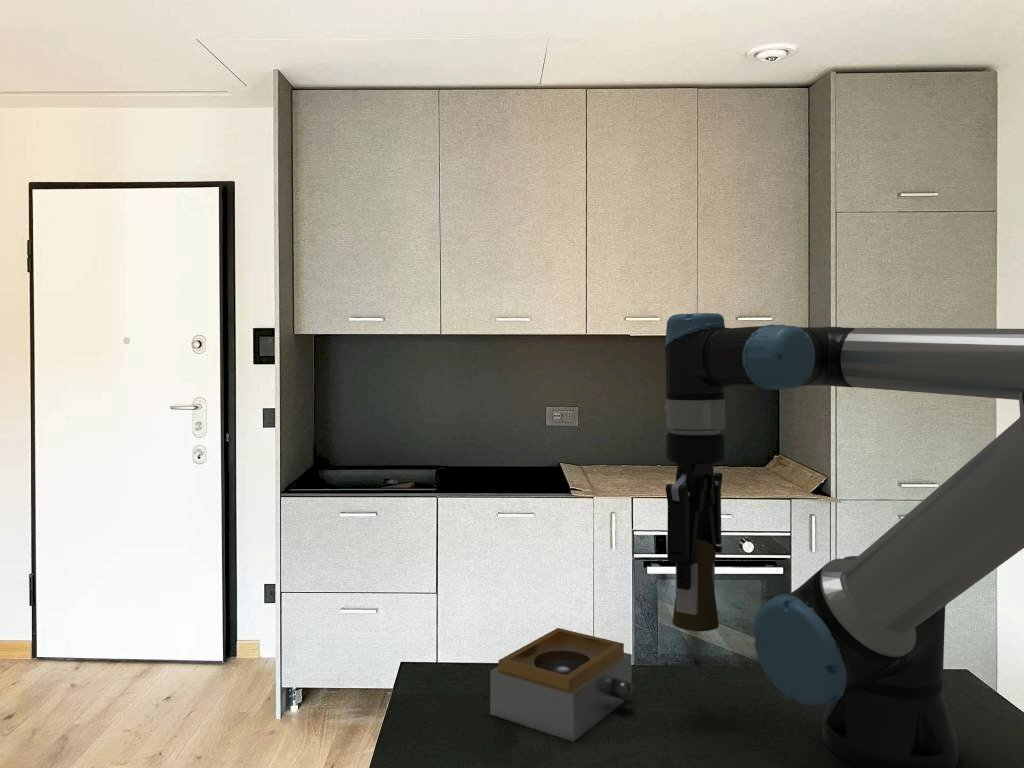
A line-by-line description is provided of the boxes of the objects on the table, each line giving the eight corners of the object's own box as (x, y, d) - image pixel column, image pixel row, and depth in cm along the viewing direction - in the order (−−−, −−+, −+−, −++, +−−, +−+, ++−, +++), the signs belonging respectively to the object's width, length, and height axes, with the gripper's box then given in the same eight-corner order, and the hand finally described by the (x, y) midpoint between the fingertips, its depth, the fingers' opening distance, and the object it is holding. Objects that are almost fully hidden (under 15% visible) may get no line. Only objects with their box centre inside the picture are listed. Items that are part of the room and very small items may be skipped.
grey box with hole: (647, 700, 112) (647, 647, 112) (590, 747, 99) (590, 688, 98) (553, 674, 121) (553, 625, 120) (490, 714, 108) (490, 659, 107)
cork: (711, 615, 109) (711, 535, 109) (724, 630, 103) (724, 546, 103) (667, 616, 109) (667, 536, 109) (678, 631, 103) (678, 547, 102)
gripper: (695, 424, 115) (695, 585, 115) (638, 436, 100) (639, 620, 101) (746, 427, 110) (746, 593, 111) (695, 439, 95) (695, 631, 96)
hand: (695, 606), depth 106 cm, fingers closed on cork, 5 cm apart
